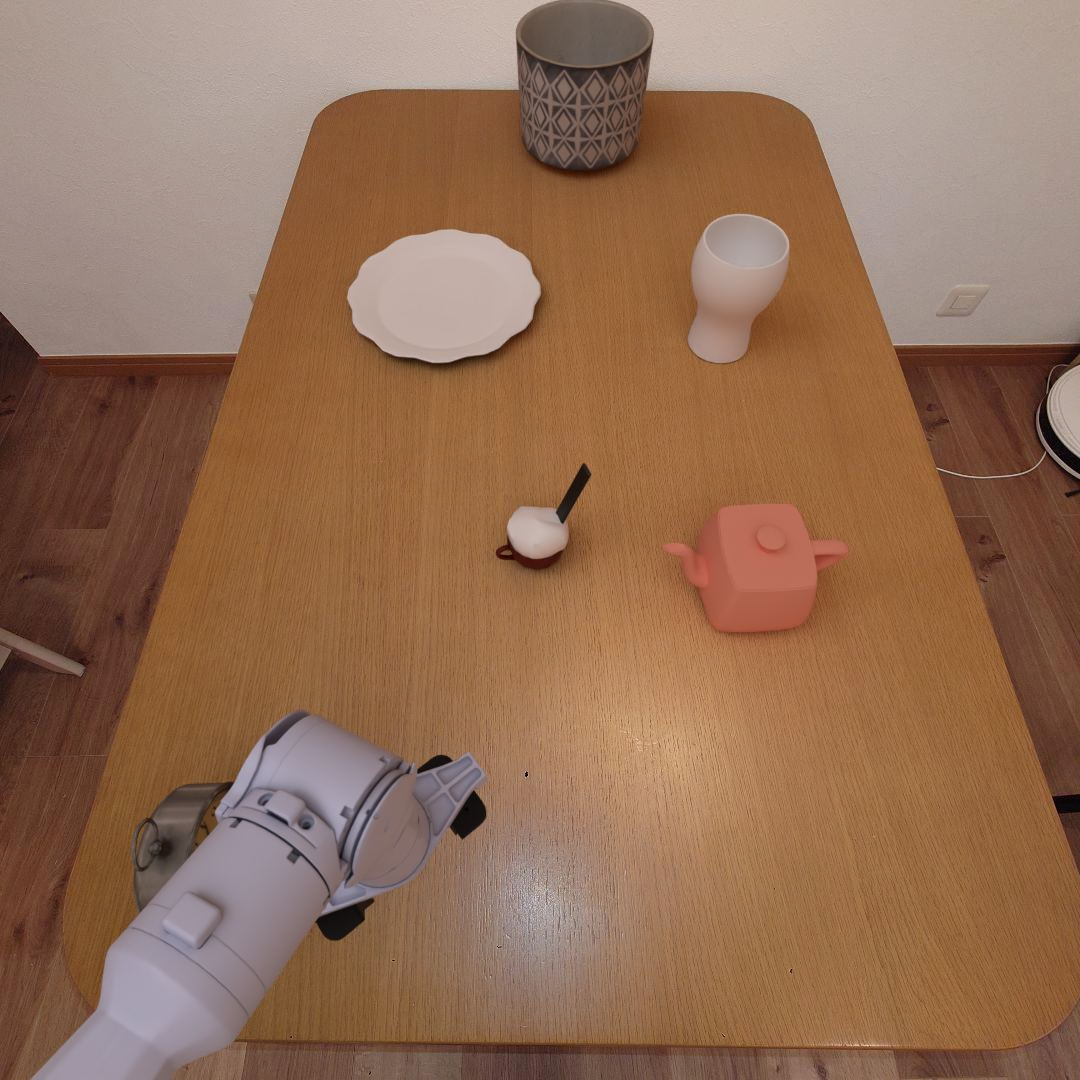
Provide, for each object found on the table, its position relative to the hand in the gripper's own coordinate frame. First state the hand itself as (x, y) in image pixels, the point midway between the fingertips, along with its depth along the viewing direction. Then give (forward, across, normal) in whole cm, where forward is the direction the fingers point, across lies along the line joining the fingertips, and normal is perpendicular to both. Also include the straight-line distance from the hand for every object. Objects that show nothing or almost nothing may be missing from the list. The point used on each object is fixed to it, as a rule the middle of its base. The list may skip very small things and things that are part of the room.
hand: (408, 855), depth 52 cm
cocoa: (+10, -27, -18) cm, 34 cm away
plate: (+10, -41, -56) cm, 70 cm away
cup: (+10, -64, -28) cm, 71 cm away
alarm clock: (+10, +13, -11) cm, 19 cm away
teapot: (+10, -40, -2) cm, 41 cm away
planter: (+10, -78, -72) cm, 107 cm away
